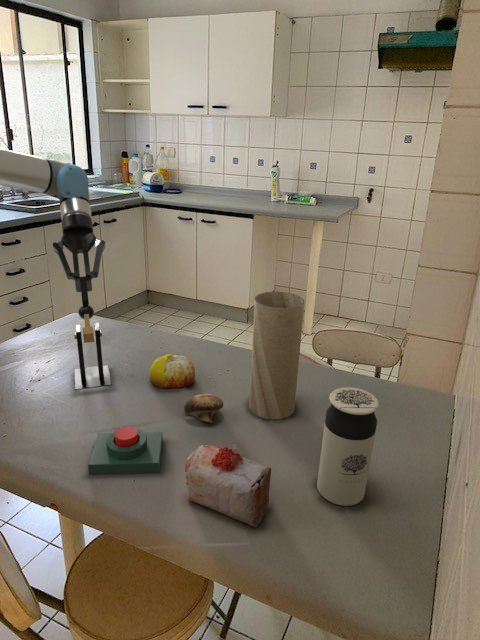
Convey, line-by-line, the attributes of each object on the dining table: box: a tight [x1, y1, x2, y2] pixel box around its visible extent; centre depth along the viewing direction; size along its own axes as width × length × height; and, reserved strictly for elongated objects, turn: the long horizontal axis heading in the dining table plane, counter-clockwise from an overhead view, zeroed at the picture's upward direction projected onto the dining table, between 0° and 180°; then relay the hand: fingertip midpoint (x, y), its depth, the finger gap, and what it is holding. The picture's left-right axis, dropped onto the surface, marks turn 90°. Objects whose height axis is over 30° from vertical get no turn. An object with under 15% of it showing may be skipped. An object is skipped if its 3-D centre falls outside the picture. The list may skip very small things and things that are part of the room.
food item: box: [184, 444, 272, 529], centre depth 74 cm, size 14×8×10 cm, turn 63°
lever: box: [78, 304, 95, 344], centre depth 109 cm, size 13×4×4 cm, turn 19°
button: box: [115, 425, 138, 447], centre depth 83 cm, size 4×4×2 cm
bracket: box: [73, 322, 112, 391], centre depth 107 cm, size 10×8×14 cm
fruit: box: [149, 353, 196, 390], centre depth 109 cm, size 11×10×8 cm
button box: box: [87, 427, 164, 476], centre depth 84 cm, size 12×9×4 cm
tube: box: [248, 291, 305, 420], centre depth 97 cm, size 10×10×25 cm
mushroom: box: [183, 393, 224, 424], centre depth 96 cm, size 8×8×6 cm
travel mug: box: [316, 386, 380, 507], centre depth 75 cm, size 8×8×18 cm
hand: (85, 302), depth 113 cm, fingers closed
